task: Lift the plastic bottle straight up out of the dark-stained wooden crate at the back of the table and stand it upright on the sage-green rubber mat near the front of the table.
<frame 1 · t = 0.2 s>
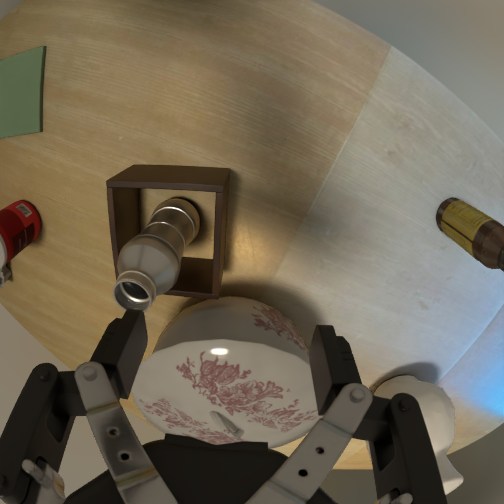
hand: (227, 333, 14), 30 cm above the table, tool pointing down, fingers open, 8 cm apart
mat: (13, 95, 33), on the table
canned food: (26, 219, 43), on the table
chamber pot: (233, 333, 53), on the table
vase: (395, 387, 62), on the table
crate: (179, 216, 43), on the table
plastic bottle: (179, 215, 44), resting in crate
sauce bottle: (449, 213, 43), on the table
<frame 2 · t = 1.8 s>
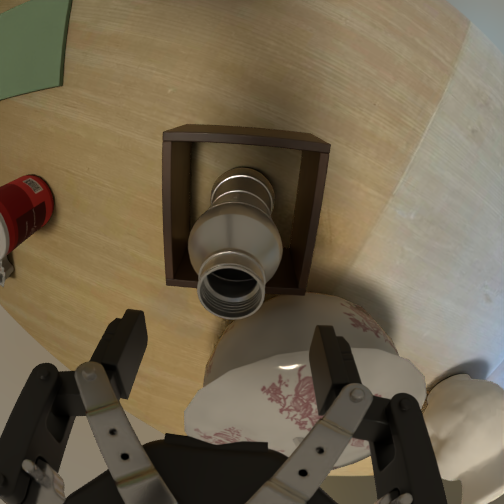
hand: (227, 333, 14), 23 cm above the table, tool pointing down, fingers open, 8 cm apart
mat: (27, 45, 25), on the table
canned food: (35, 199, 35), on the table
chamber pot: (294, 336, 45), on the table
vase: (447, 387, 53), on the table
crate: (243, 191, 35), on the table
plastic bottle: (243, 191, 35), resting in crate
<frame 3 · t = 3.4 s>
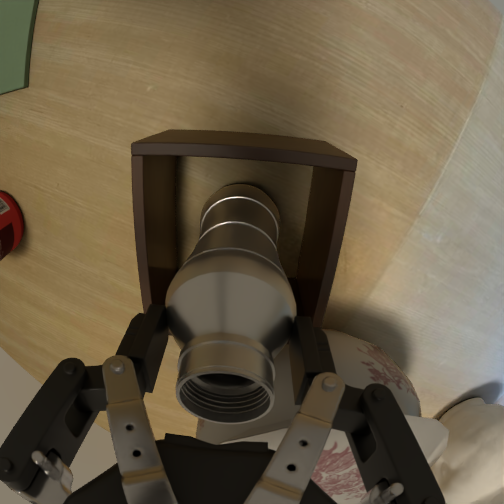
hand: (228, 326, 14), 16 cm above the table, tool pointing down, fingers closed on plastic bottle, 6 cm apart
canned food: (4, 218, 29), on the table
chamber pot: (300, 372, 38), on the table
vase: (459, 410, 47), on the table
crate: (241, 212, 28), on the table
plastic bottle: (241, 211, 29), resting in crate, touching gripper
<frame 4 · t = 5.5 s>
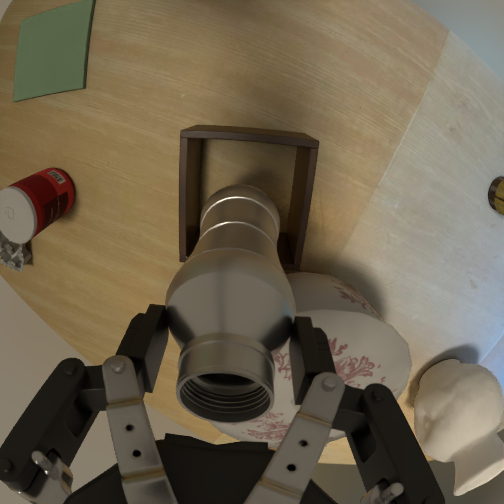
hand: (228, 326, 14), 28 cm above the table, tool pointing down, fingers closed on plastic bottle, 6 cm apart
mat: (50, 50, 30), on the table
canned food: (56, 190, 40), on the table
chamber pot: (292, 317, 50), on the table
egg carton: (17, 234, 43), on the table
vase: (439, 372, 58), on the table
crate: (246, 183, 40), on the table
plastic bottle: (241, 211, 29), point 12 cm above the table, touching gripper
sauce bottle: (498, 191, 39), on the table
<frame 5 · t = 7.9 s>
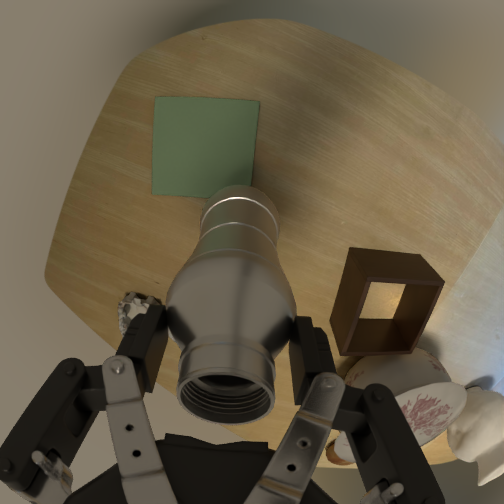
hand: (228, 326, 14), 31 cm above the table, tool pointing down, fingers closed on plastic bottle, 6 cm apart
mat: (203, 147, 40), on the table
chamber pot: (380, 370, 60), on the table
egg carton: (143, 315, 53), on the table
vase: (465, 396, 69), on the table
bread roll: (346, 439, 74), on the table
crate: (375, 288, 51), on the table
plastic bottle: (240, 212, 29), point 15 cm above the table, touching gripper
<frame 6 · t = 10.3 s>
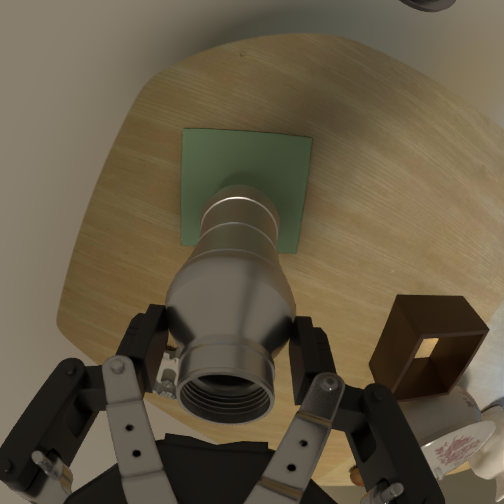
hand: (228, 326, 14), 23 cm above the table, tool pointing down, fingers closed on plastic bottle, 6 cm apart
mat: (242, 191, 35), on the table
chamber pot: (411, 402, 55), on the table
egg carton: (171, 365, 48), on the table
vase: (485, 414, 63), on the table
bread roll: (370, 461, 69), on the table
crate: (416, 331, 45), on the table
plastic bottle: (240, 212, 29), point 7 cm above the table, touching gripper
when the fingers open (16 cm above the table, at t = 12.5 s): plastic bottle stays where it is, resting on mat.
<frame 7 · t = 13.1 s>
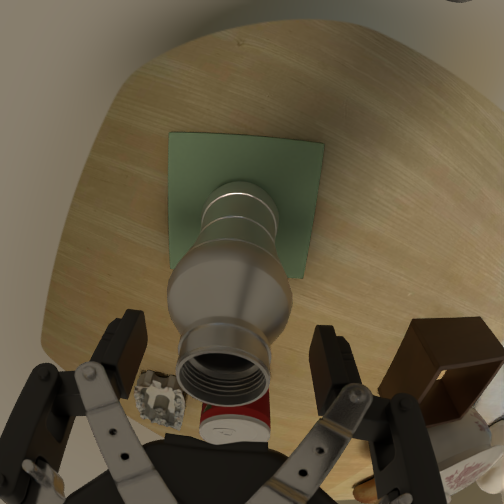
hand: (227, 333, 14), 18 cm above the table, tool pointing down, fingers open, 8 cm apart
mat: (241, 207, 30), on the table
canned food: (238, 366, 40), on the table
chamber pot: (419, 422, 50), on the table
egg carton: (163, 392, 43), on the table
vase: (492, 428, 58), on the table
bread roll: (374, 477, 64), on the table
crate: (430, 355, 40), on the table
plastic bottle: (241, 208, 29), point 1 cm above the table, touching mat
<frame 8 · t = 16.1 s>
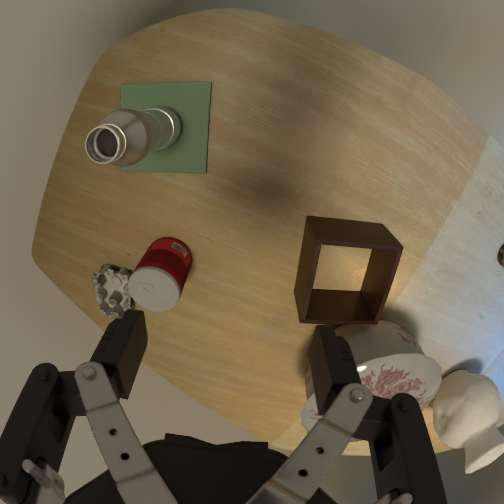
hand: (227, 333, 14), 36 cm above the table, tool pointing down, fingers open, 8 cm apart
mat: (163, 126, 43), on the table
canned food: (170, 255, 53), on the table
chamber pot: (354, 346, 63), on the table
egg carton: (118, 287, 56), on the table
vase: (451, 379, 71), on the table
crate: (337, 258, 53), on the table
plastic bottle: (162, 126, 42), point 1 cm above the table, touching mat
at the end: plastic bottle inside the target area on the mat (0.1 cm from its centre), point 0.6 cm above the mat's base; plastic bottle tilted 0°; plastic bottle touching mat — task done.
